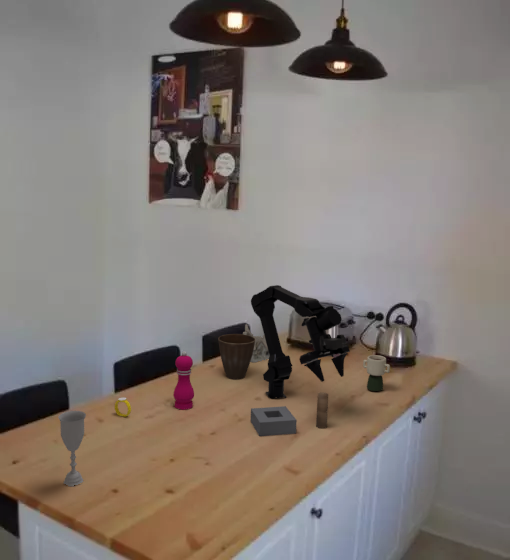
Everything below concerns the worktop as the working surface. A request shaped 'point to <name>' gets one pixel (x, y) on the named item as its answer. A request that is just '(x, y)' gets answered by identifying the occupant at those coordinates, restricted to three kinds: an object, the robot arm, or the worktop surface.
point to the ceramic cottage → (258, 347)
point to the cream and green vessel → (376, 371)
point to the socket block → (273, 421)
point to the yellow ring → (125, 403)
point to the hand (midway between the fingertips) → (332, 378)
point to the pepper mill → (183, 383)
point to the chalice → (72, 441)
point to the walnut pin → (322, 410)
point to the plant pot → (236, 354)
